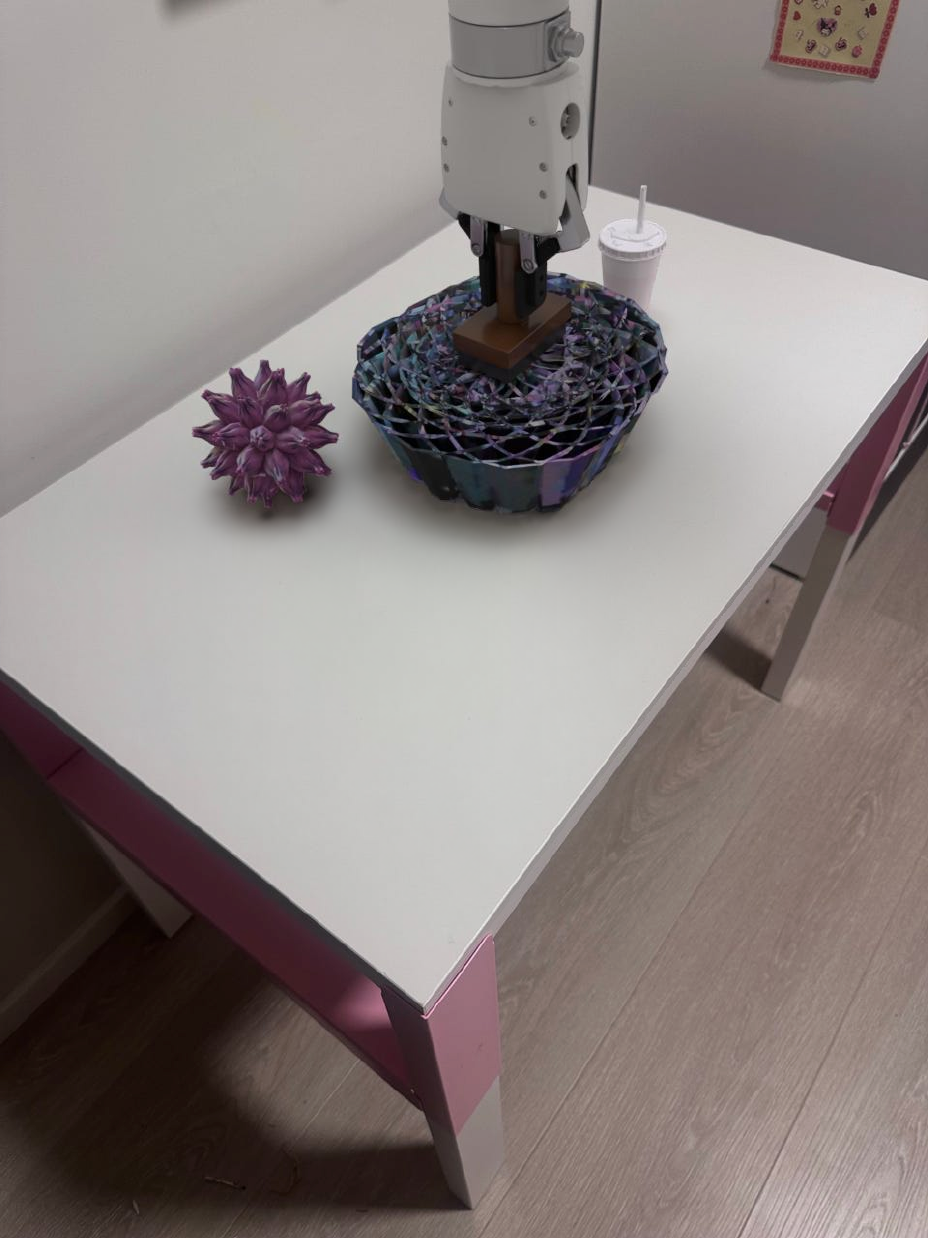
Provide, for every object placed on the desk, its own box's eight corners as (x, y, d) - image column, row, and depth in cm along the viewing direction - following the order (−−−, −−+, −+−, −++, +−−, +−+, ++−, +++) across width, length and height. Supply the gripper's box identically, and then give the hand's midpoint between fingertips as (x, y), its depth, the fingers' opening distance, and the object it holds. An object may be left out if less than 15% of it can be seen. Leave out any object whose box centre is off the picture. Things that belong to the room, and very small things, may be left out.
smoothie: (660, 344, 87) (679, 201, 76) (594, 346, 87) (604, 205, 76) (652, 308, 91) (668, 168, 80) (589, 311, 91) (598, 172, 80)
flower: (271, 561, 73) (175, 481, 76) (372, 479, 78) (278, 408, 81) (252, 470, 63) (143, 384, 66) (369, 383, 68) (263, 307, 71)
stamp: (517, 314, 76) (515, 203, 69) (570, 333, 74) (575, 220, 67) (454, 365, 72) (445, 252, 65) (509, 386, 70) (506, 272, 62)
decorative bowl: (312, 485, 79) (282, 398, 71) (477, 315, 91) (468, 224, 83) (562, 594, 69) (561, 507, 61) (710, 387, 81) (725, 291, 73)
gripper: (651, 42, 54) (625, 312, 68) (445, 5, 61) (460, 257, 75) (586, 83, 51) (573, 359, 65) (374, 39, 58) (405, 297, 72)
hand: (513, 302), depth 70 cm, fingers closed on stamp, 2 cm apart
